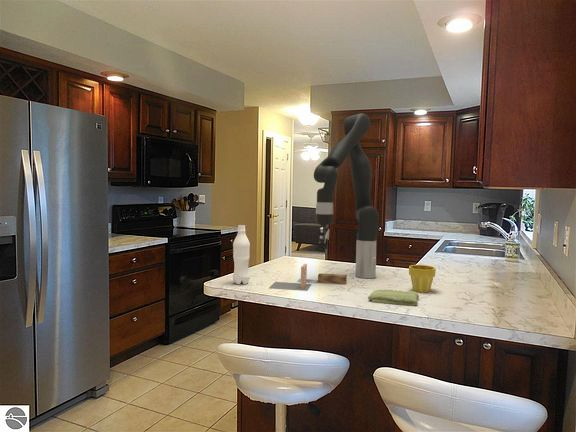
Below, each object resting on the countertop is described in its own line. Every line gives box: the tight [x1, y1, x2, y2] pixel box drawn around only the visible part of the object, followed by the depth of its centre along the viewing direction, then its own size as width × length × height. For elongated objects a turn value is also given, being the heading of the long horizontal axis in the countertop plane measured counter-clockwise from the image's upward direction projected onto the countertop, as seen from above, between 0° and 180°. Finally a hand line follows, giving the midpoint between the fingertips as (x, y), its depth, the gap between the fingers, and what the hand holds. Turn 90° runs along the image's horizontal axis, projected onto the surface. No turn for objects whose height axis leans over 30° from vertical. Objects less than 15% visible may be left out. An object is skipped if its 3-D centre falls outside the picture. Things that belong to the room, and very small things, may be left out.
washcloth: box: [367, 289, 420, 307], centre depth 158 cm, size 13×18×3 cm
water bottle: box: [232, 224, 251, 285], centre depth 180 cm, size 7×7×25 cm
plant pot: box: [408, 264, 437, 293], centre depth 173 cm, size 10×10×10 cm
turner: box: [296, 273, 348, 285], centre depth 183 cm, size 21×6×4 cm, turn 78°
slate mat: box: [268, 281, 313, 292], centre depth 175 cm, size 16×12×1 cm
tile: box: [300, 263, 308, 289], centre depth 174 cm, size 1×7×9 cm, turn 168°
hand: (323, 250), depth 183 cm, fingers open, 8 cm apart
